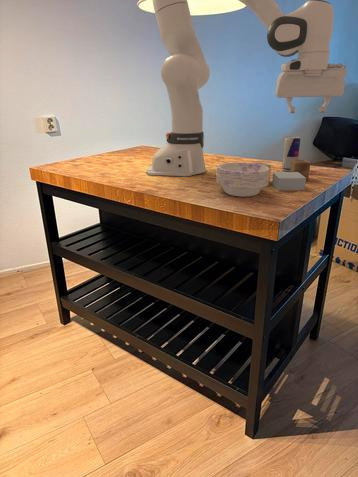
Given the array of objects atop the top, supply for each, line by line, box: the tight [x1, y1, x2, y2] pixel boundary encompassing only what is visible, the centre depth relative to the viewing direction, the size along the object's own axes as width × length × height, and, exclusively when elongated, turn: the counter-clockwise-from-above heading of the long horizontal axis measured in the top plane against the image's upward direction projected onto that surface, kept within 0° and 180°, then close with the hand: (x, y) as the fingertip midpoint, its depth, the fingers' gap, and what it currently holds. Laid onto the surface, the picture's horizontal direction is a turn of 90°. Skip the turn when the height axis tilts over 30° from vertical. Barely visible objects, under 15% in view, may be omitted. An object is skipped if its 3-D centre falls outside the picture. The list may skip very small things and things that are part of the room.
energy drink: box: [281, 135, 301, 172], centre depth 130 cm, size 5×5×12 cm
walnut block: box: [290, 159, 311, 182], centre depth 119 cm, size 5×5×6 cm
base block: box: [271, 171, 307, 191], centre depth 110 cm, size 8×8×4 cm
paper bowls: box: [215, 162, 271, 198], centre depth 104 cm, size 15×15×8 cm
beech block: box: [254, 161, 272, 184], centre depth 116 cm, size 5×5×6 cm
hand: (306, 112), depth 112 cm, fingers open, 8 cm apart
